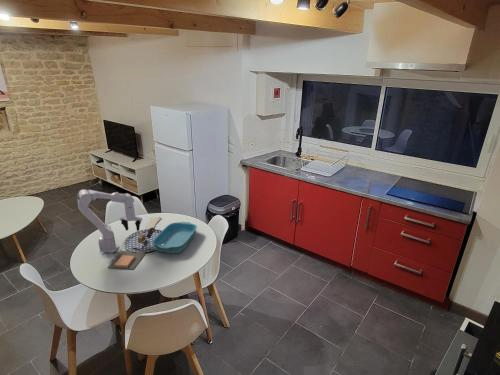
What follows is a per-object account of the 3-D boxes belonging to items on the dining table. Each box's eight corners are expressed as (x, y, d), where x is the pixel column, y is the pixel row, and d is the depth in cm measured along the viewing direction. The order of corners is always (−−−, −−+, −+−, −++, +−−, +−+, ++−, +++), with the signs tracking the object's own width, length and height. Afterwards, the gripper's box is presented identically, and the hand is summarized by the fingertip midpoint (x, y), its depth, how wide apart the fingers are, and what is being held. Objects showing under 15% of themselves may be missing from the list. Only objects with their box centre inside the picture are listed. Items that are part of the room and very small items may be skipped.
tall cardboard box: (139, 239, 219) (138, 233, 217) (148, 239, 218) (147, 233, 216) (132, 248, 207) (131, 242, 206) (140, 249, 207) (139, 242, 205)
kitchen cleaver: (148, 217, 249) (161, 216, 249) (149, 219, 249) (161, 217, 249) (136, 237, 220) (150, 236, 220) (137, 240, 220) (151, 238, 220)
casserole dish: (173, 228, 234) (172, 219, 232) (201, 231, 230) (200, 222, 227) (148, 255, 201) (146, 245, 198) (180, 259, 196) (179, 249, 194)
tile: (122, 257, 197) (114, 266, 188) (122, 255, 197) (114, 264, 187) (134, 258, 196) (127, 267, 187) (134, 255, 196) (127, 265, 187)
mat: (107, 268, 188) (107, 267, 187) (122, 251, 204) (121, 250, 204) (133, 269, 186) (133, 269, 186) (145, 253, 203) (145, 252, 203)
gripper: (143, 209, 210) (145, 227, 215) (122, 208, 211) (125, 226, 216) (138, 214, 203) (141, 232, 208) (117, 213, 205) (120, 231, 210)
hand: (132, 230), depth 212 cm, fingers open, 7 cm apart
